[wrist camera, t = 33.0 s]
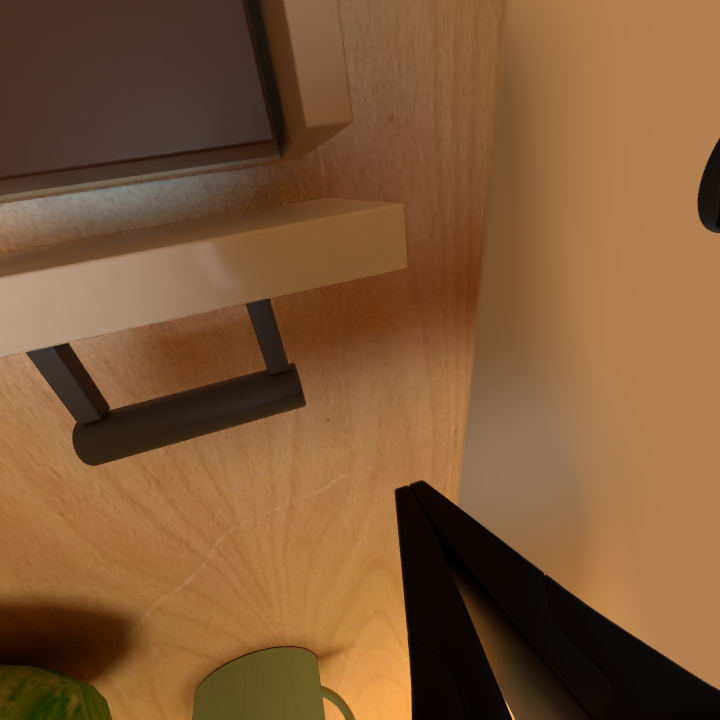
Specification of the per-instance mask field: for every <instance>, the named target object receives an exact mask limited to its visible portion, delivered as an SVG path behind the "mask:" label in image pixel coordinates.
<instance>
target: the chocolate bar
mask: <svg viewBox="0 0 720 720" xmlns="http://www.w3.org/2000/svg"><path fill="white" fill-rule="evenodd" d="M275 140H276V137H275V132H274V128H273V123H272V119H271V114H270V110H269V105H268V101H267V96H266V92H265V87H264V83H263V78H262V74H261V69H260V65H259V60H258V56H257V51H256V47H255V42H254V38H253V33H252V29H251V25H250V20H249V16H248V11H247V7H246V2H245V0H0V195H7V194H14V193H21V192H27V191H34V190H41V189H48V188H55V187H62V186H69V185H76V184H82V183H89V182H96V181H103V180H110V179H117V178H124V177H131V176H137V175H144V174H151V173H158V172H165V171H172V170H179V169H186V168H192V167H199V166H206V165H213V164H220V163H227V162H234V161H241V160H248V159H254V158H261V157H268V156H269V155H270V153H271V151H272V148H273V146H274V143H275Z"/></svg>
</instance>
